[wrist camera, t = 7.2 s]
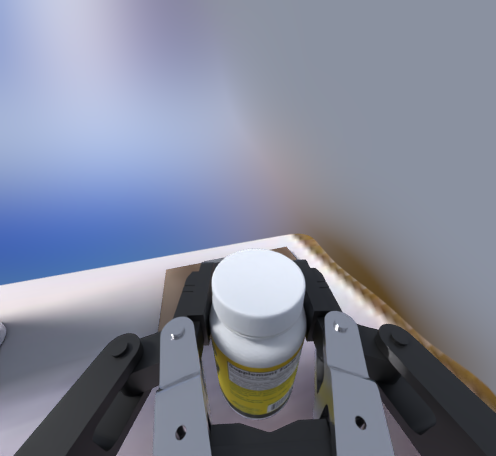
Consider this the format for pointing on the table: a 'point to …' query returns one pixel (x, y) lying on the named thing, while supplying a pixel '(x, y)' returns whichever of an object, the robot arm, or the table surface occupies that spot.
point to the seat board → (177, 280)
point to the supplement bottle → (257, 329)
